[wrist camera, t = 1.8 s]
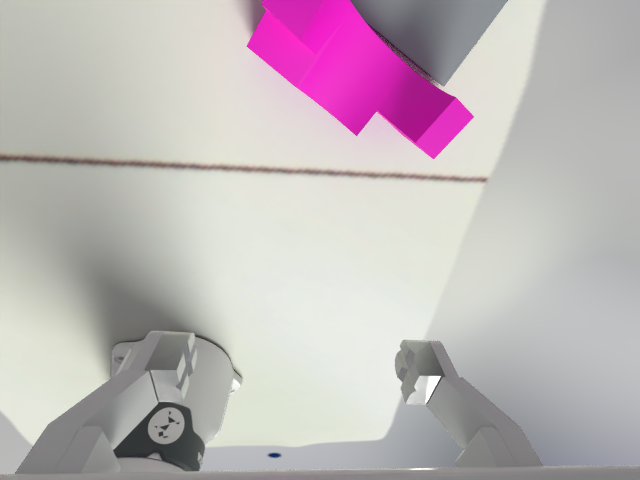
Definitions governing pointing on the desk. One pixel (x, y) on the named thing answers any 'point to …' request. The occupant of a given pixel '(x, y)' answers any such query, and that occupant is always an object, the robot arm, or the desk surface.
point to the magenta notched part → (354, 71)
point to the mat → (431, 29)
